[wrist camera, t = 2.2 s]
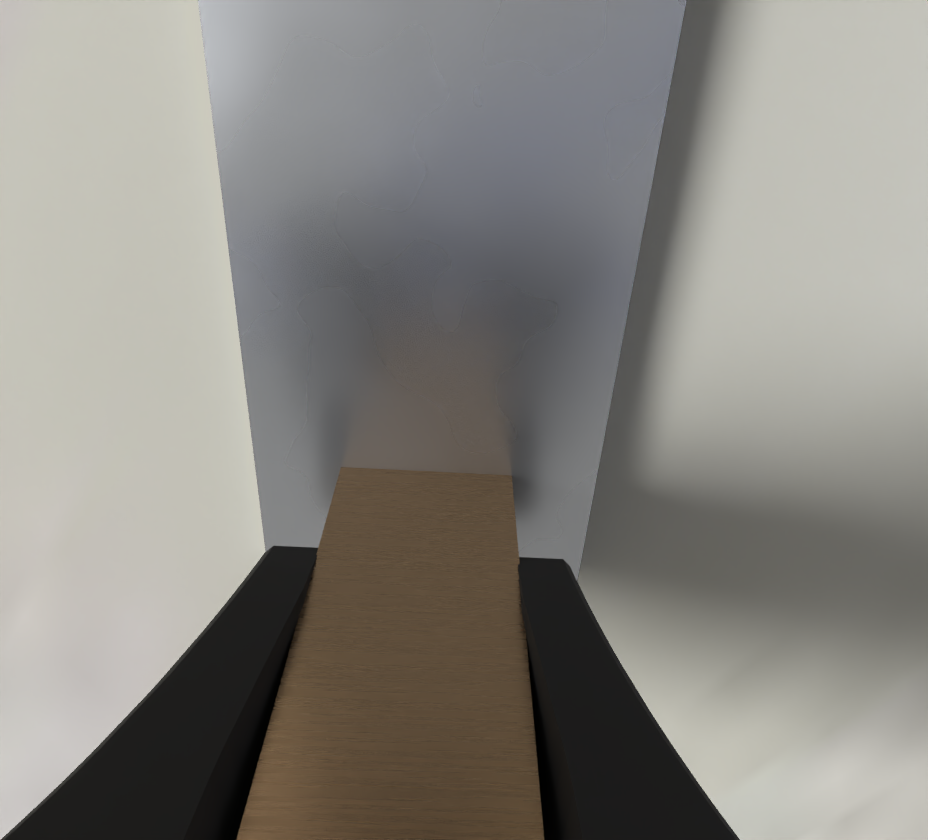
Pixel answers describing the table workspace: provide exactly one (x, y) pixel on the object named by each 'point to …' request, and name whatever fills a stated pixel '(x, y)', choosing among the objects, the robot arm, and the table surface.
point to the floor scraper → (426, 368)
